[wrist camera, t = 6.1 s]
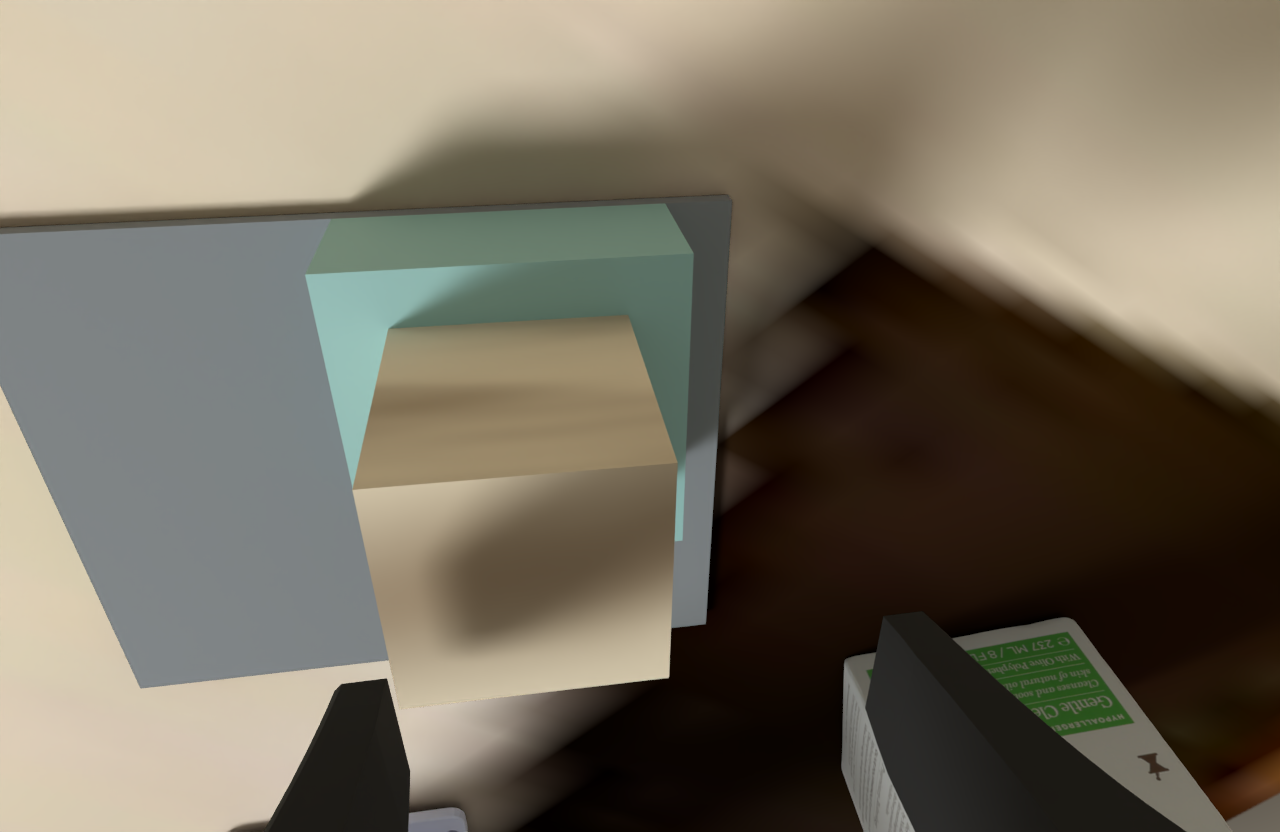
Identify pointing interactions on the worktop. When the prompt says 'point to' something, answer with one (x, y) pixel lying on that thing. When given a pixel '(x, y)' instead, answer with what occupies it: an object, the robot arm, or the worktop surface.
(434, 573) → the maple block
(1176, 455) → the worktop surface
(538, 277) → the plinth
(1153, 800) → the skincare box
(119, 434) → the mat
